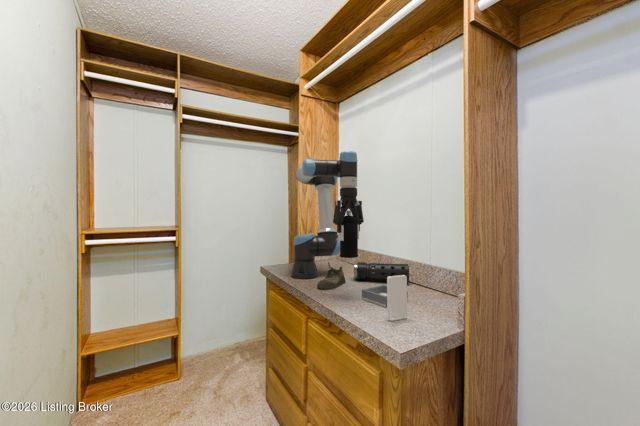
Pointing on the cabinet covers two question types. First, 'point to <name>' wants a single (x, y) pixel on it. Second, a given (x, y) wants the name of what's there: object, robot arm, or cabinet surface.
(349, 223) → the aerosol can
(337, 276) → the hiking shoe
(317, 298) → the cabinet surface
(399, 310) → the phone case
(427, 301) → the cabinet surface
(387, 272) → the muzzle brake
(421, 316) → the cabinet surface
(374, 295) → the holder
